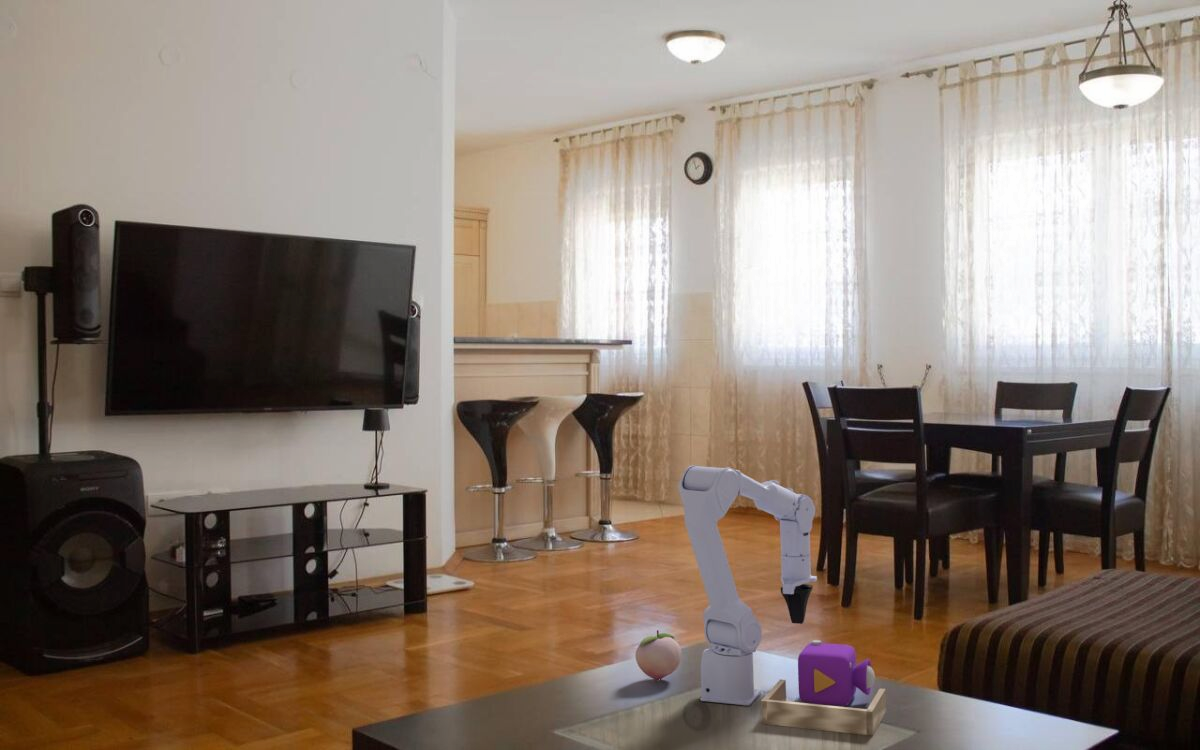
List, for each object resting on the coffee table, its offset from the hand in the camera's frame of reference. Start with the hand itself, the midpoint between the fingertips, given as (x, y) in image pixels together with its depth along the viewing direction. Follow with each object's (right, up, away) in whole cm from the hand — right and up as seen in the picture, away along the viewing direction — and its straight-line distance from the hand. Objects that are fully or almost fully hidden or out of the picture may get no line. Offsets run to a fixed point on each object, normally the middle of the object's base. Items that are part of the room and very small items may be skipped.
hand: (797, 622), depth 220 cm
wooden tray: (0, -11, -25) cm, 27 cm away
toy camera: (+5, -11, -15) cm, 19 cm away
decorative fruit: (-27, -12, 0) cm, 29 cm away
